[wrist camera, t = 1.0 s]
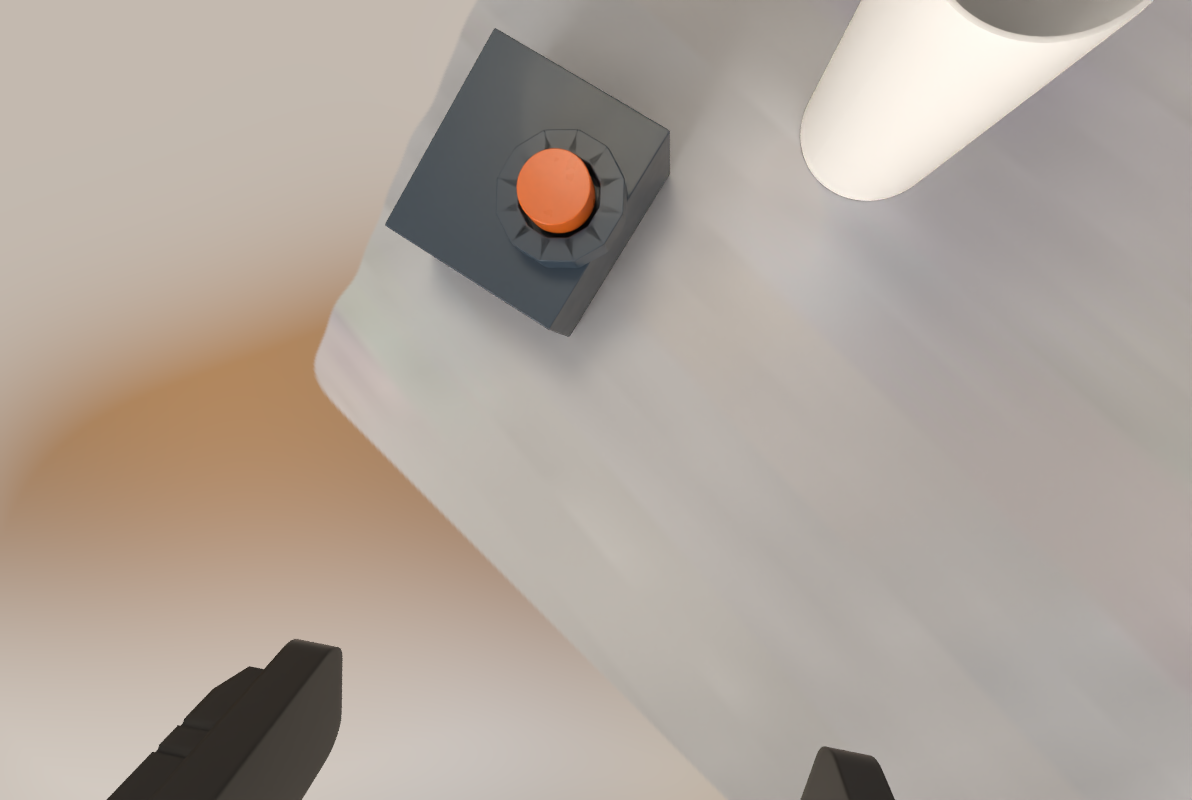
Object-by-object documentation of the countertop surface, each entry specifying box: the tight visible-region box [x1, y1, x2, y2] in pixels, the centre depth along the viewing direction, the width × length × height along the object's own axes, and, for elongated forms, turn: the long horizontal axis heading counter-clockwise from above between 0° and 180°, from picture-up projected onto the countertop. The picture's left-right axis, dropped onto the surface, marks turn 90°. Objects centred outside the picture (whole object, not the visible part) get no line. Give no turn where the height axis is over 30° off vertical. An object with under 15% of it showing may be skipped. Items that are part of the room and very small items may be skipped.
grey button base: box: [385, 28, 670, 337], centre depth 32 cm, size 12×12×8 cm
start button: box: [517, 148, 595, 234], centre depth 27 cm, size 4×4×2 cm
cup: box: [800, 0, 1153, 201], centre depth 25 cm, size 8×8×16 cm
